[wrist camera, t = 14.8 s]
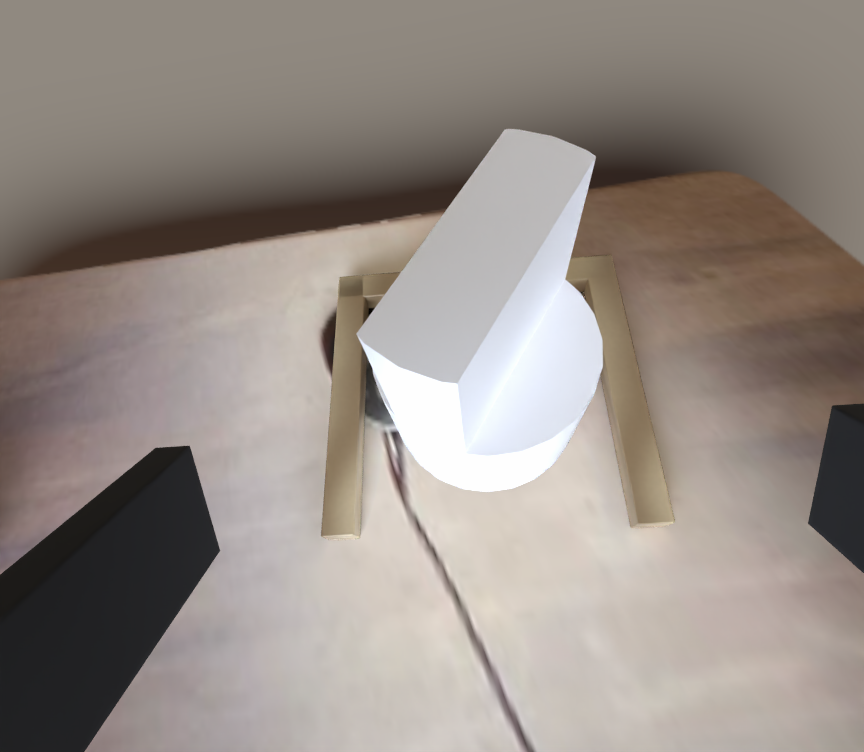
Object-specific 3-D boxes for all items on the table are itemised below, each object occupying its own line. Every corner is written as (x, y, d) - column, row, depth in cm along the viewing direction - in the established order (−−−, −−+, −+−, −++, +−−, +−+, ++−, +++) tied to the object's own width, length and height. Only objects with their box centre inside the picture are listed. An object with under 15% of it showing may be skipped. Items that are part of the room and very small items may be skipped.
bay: (328, 540, 22) (320, 537, 21) (344, 289, 28) (338, 276, 27) (665, 526, 21) (675, 522, 20) (606, 268, 27) (611, 254, 26)
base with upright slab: (525, 528, 21) (568, 452, 11) (361, 435, 24) (262, 298, 13) (604, 368, 24) (702, 180, 13) (450, 301, 27) (429, 98, 16)
